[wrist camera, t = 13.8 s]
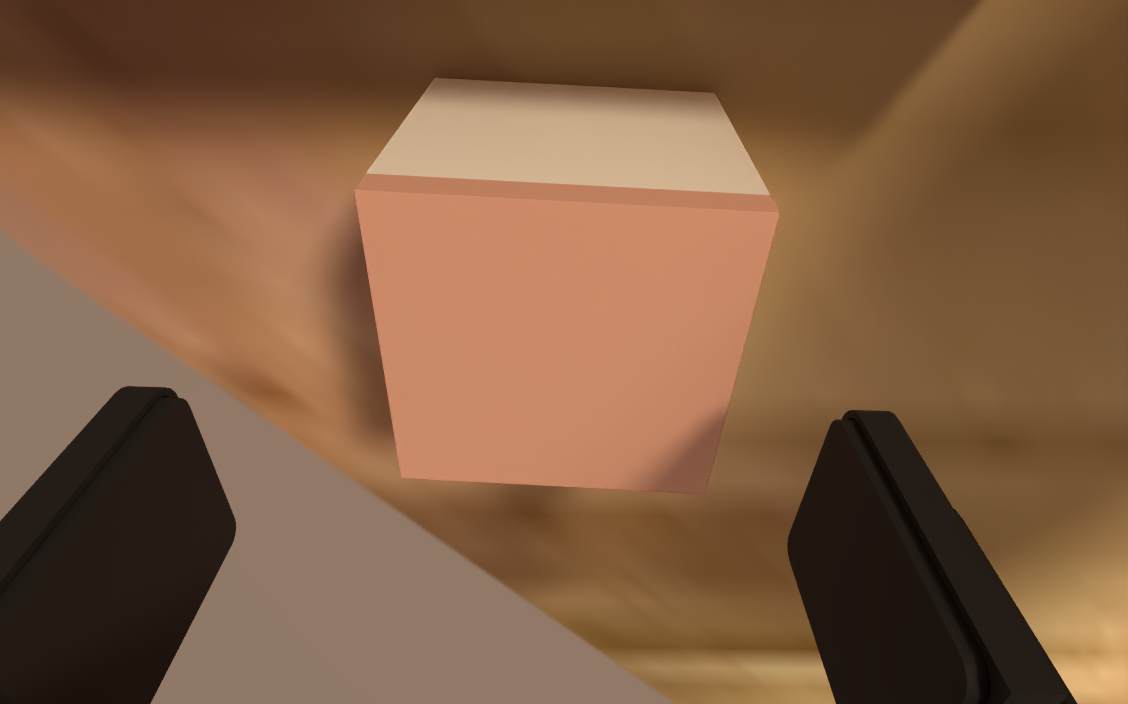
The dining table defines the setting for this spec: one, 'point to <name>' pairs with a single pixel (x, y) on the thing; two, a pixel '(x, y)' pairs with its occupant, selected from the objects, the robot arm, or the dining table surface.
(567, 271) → the orange and beige cube
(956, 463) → the dining table surface
